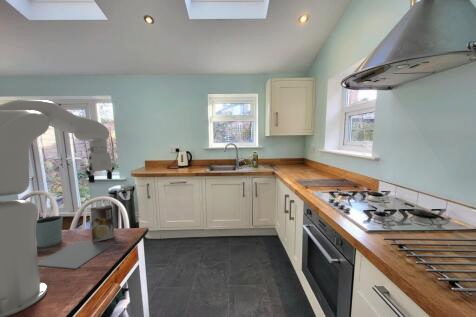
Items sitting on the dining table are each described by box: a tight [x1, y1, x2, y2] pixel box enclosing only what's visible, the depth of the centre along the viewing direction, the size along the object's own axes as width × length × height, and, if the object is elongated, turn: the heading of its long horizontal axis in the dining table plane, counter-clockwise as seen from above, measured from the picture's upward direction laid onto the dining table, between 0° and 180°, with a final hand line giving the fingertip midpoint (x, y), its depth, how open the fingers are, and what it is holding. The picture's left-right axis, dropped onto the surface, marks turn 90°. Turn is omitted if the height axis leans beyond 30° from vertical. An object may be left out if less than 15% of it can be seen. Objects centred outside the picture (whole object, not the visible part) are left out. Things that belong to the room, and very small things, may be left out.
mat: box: [38, 240, 115, 270], centre depth 84 cm, size 19×20×1 cm
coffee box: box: [90, 204, 115, 243], centre depth 97 cm, size 9×6×16 cm
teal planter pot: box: [36, 215, 64, 248], centre depth 94 cm, size 10×10×12 cm
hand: (101, 180), depth 105 cm, fingers open, 9 cm apart
